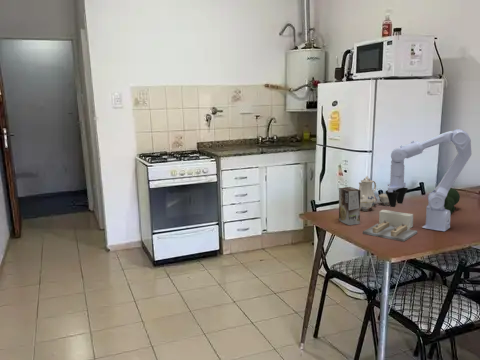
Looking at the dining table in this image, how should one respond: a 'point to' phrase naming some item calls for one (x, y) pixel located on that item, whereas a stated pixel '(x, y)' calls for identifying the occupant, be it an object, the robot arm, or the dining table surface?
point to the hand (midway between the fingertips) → (396, 205)
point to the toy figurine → (451, 200)
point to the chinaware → (369, 195)
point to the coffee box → (349, 205)
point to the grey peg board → (390, 231)
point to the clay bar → (396, 218)
